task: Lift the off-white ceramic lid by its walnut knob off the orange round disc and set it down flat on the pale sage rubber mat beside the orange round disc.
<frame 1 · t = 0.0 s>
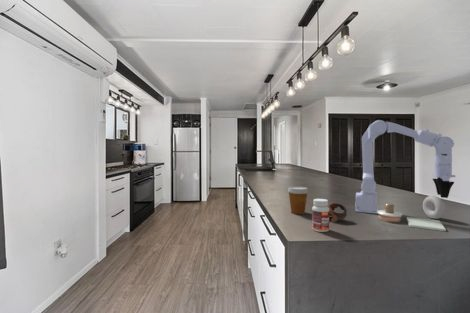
hand: (442, 196, 107), 10 cm above the countertop, tool pointing down, fingers open, 7 cm apart
disposable coffee cup: (297, 213, 119), on the countertop
orange round disc: (389, 219, 107), on the countertop
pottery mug: (331, 220, 108), on the countertop
pill bottle: (320, 230, 93), on the countertop
donut: (433, 219, 108), on the countertop
lid: (389, 213, 107), point 2 cm above the countertop, touching orange round disc
mat: (424, 224, 100), on the countertop
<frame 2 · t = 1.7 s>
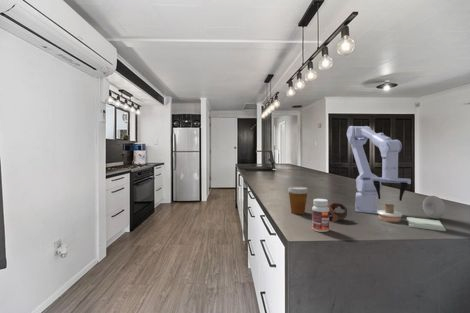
hand: (389, 199, 106), 9 cm above the countertop, tool pointing down, fingers open, 7 cm apart
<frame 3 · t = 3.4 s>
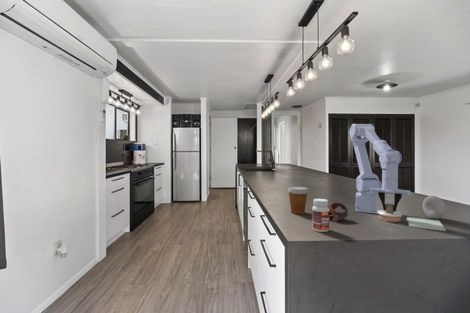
hand: (389, 210, 107), 4 cm above the countertop, tool pointing down, fingers closed on lid, 3 cm apart
lid: (389, 213, 107), point 2 cm above the countertop, touching orange round disc, gripper
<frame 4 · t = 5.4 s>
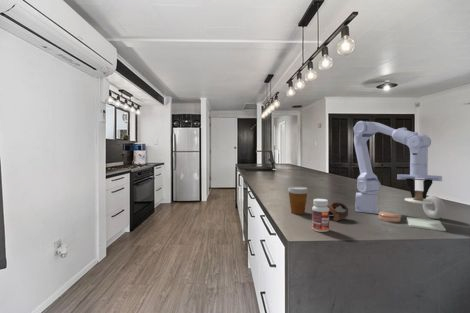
hand: (418, 197, 100), 11 cm above the countertop, tool pointing down, fingers closed on lid, 3 cm apart
lid: (418, 201, 100), point 9 cm above the countertop, touching gripper
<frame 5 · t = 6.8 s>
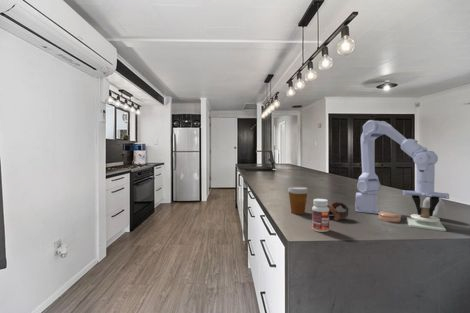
hand: (424, 215, 99), 4 cm above the countertop, tool pointing down, fingers closed on lid, 3 cm apart
lid: (424, 218, 99), point 2 cm above the countertop, touching gripper
when the fingers open (3 cm above the countertop, at t = 7.7 s): lid drops 1 cm, resting on mat.
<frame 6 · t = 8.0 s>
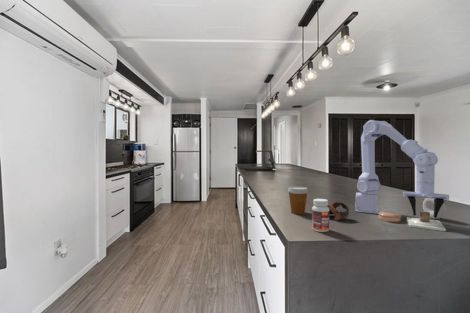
hand: (424, 216, 99), 3 cm above the countertop, tool pointing down, fingers open, 6 cm apart
lid: (424, 222, 99), point 1 cm above the countertop, touching mat
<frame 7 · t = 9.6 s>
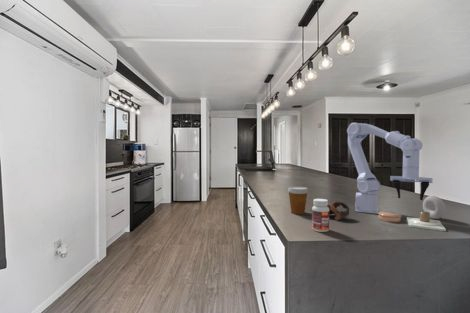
hand: (409, 198, 105), 9 cm above the countertop, tool pointing down, fingers open, 7 cm apart
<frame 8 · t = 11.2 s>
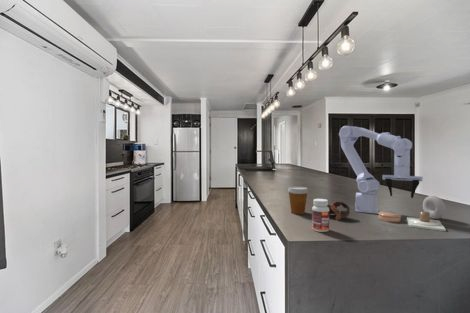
hand: (401, 196, 109), 9 cm above the countertop, tool pointing down, fingers open, 7 cm apart
at the end: lid inside the target area on the mat (0.1 cm from its centre), point 0.8 cm above the mat's base; lid touching mat; lid tilted 0° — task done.
